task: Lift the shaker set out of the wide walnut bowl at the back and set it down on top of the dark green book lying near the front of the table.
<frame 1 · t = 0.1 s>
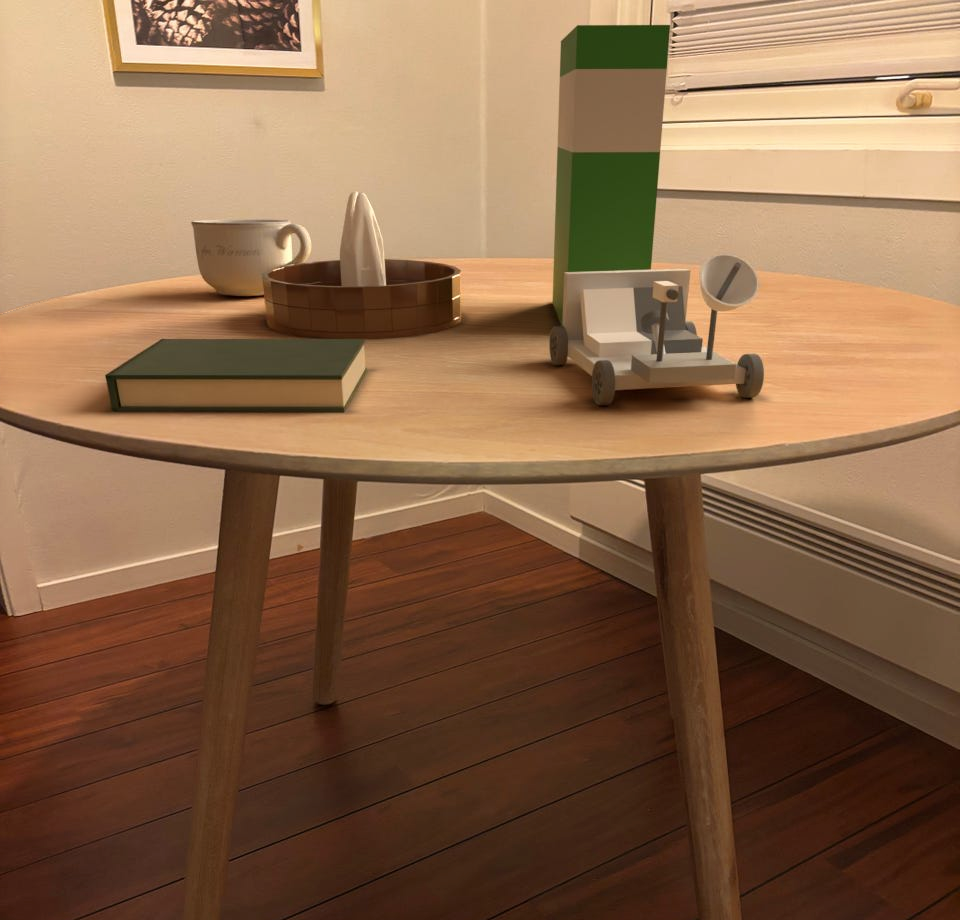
bowl: (365, 319, 94), on the table
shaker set: (364, 315, 94), resting on bowl
green book: (248, 390, 70), on the table
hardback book: (595, 319, 95), on the table
toy car: (651, 386, 71), on the table
teacup: (260, 297, 108), on the table
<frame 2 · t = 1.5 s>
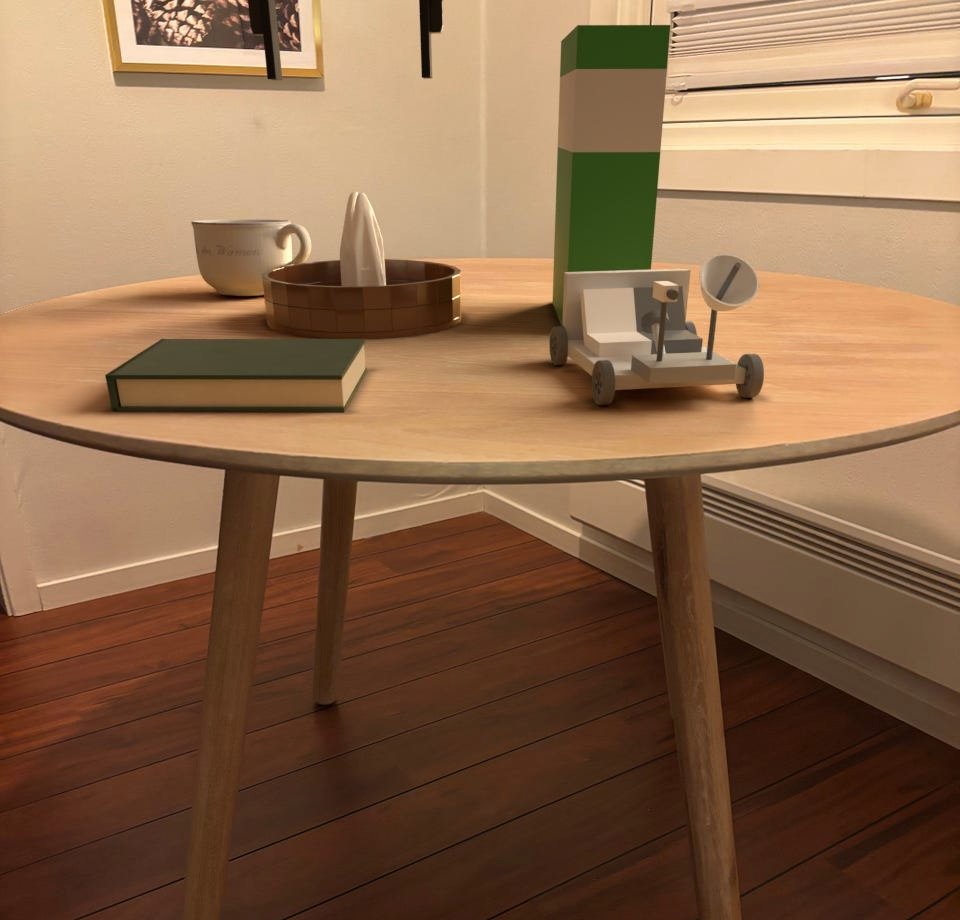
hand: (350, 79, 84), 21 cm above the table, tool pointing down, fingers open, 13 cm apart
nothing on the table moved.
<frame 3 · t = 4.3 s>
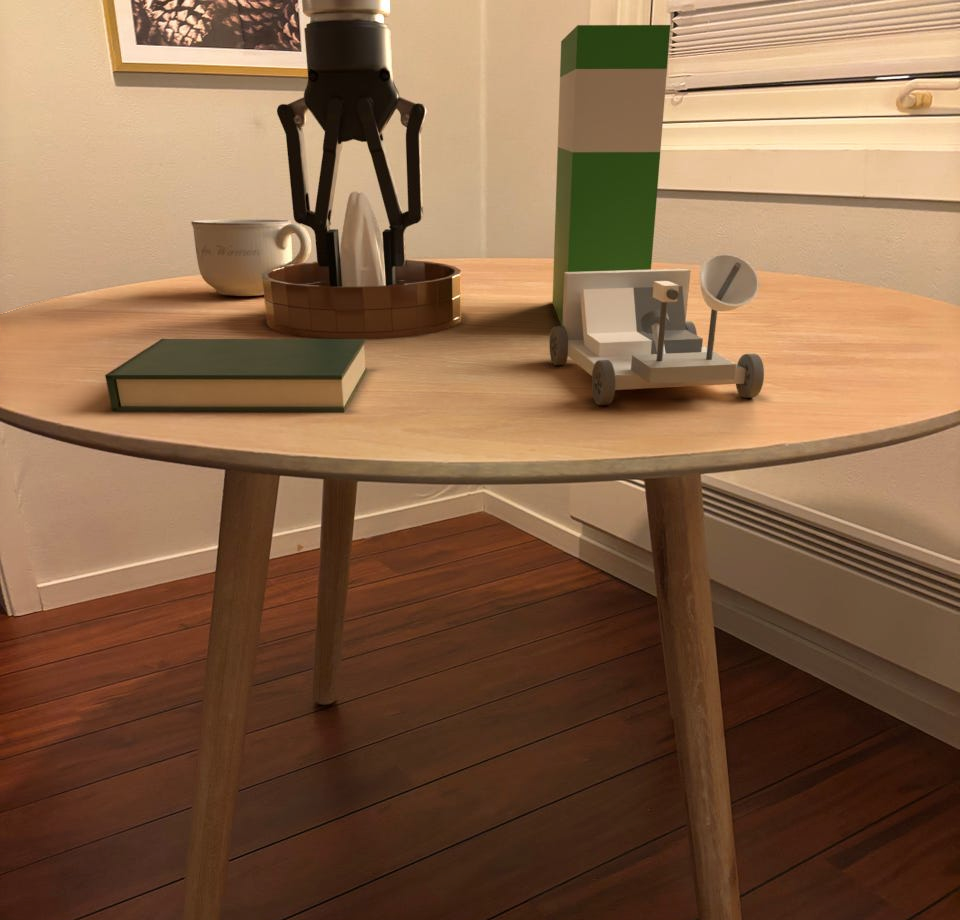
hand: (364, 301, 93), 2 cm above the table, tool pointing down, fingers closed on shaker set, 5 cm apart
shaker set: (364, 315, 94), resting on bowl, touching gripper
everything else where it was.
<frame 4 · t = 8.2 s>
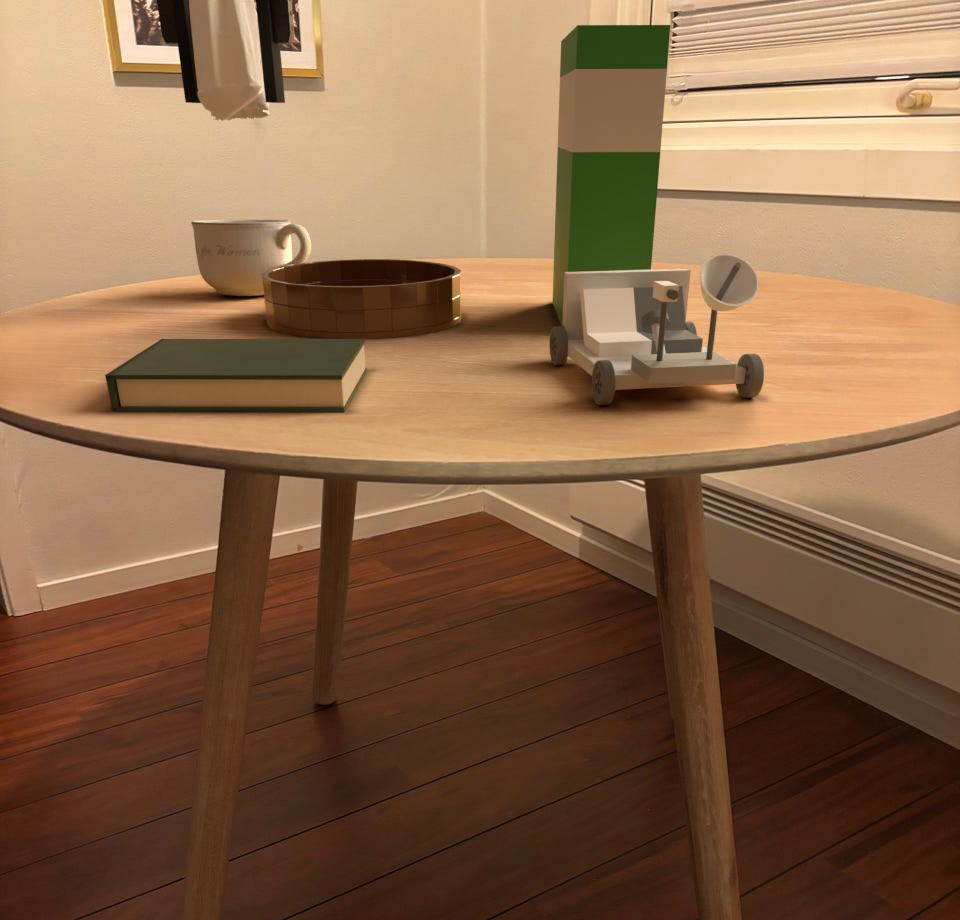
hand: (236, 101, 64), 19 cm above the table, tool pointing down, fingers closed on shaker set, 5 cm apart
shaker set: (237, 124, 64), point 17 cm above the table, touching gripper
everything else where it was.
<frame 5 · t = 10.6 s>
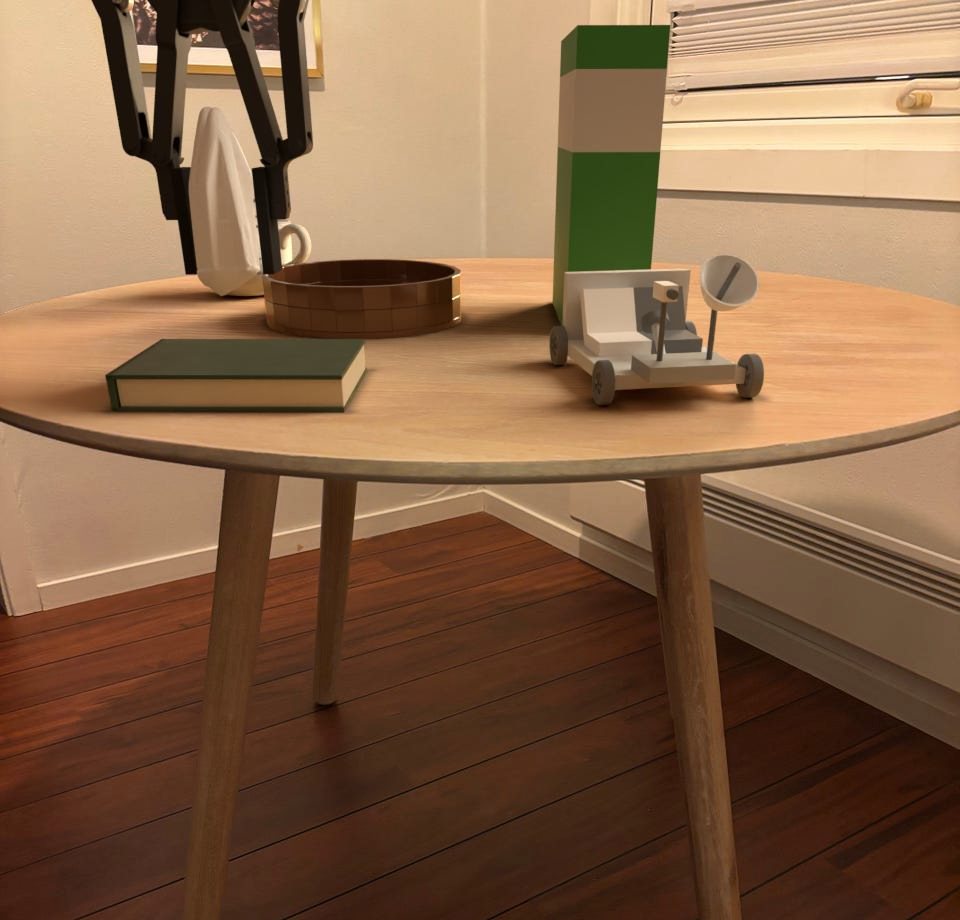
hand: (234, 271, 66), 8 cm above the table, tool pointing down, fingers closed on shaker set, 5 cm apart
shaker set: (236, 291, 66), point 7 cm above the table, touching gripper
everything else where it was.
when the fingers open (4 cm above the table, at t = 12.0 s): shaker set stays where it is, resting on green book.
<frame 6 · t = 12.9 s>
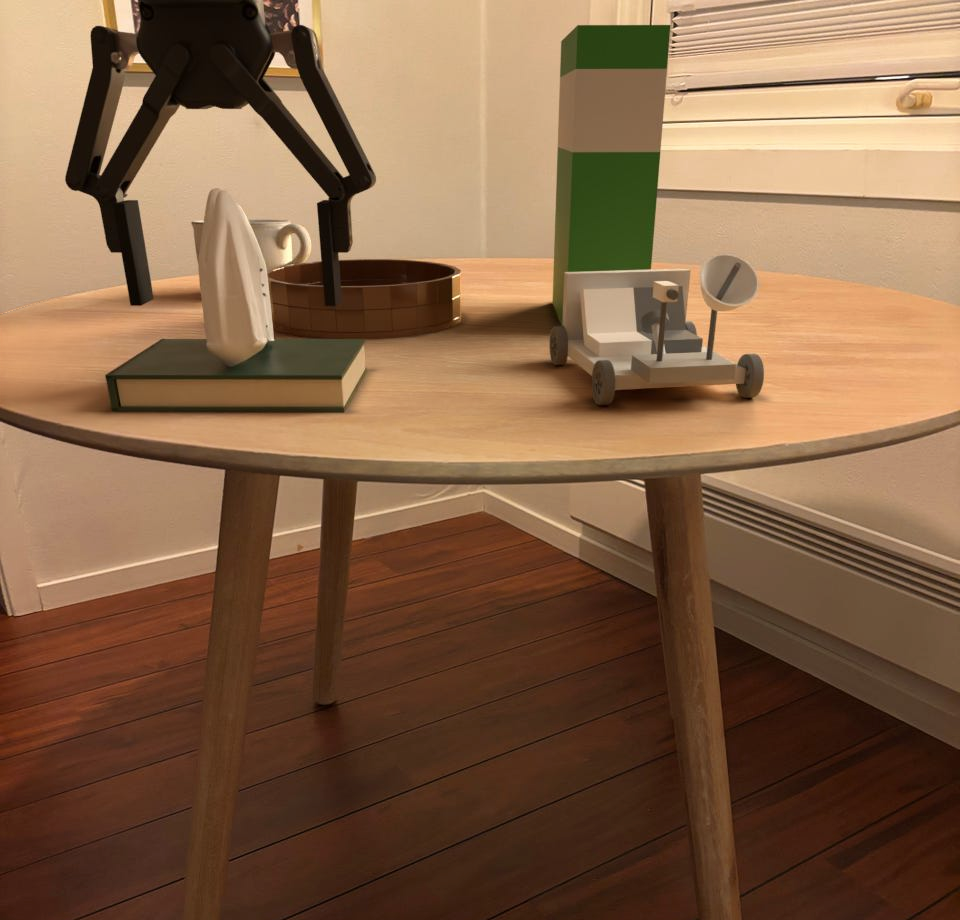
hand: (237, 303, 67), 6 cm above the table, tool pointing down, fingers open, 13 cm apart
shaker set: (244, 358, 69), point 2 cm above the table, touching green book
everything else where it was.
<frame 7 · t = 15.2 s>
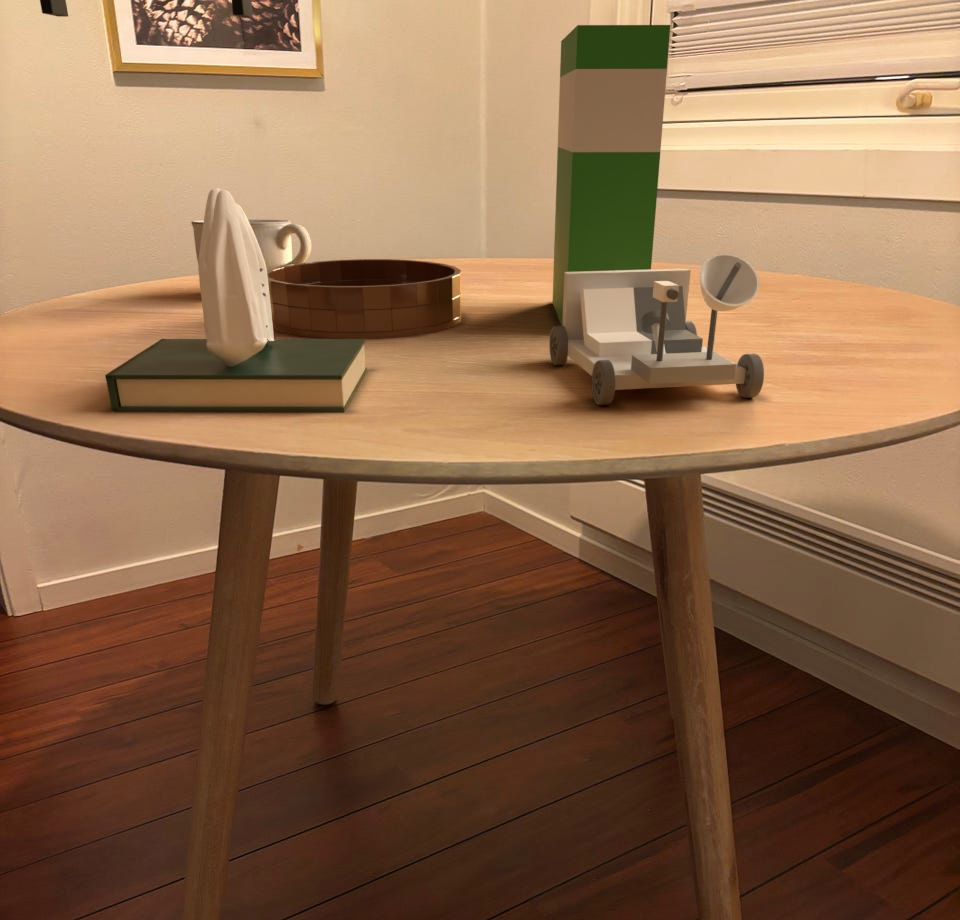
hand: (149, 16, 68), 24 cm above the table, tool pointing down, fingers open, 13 cm apart
nothing on the table moved.
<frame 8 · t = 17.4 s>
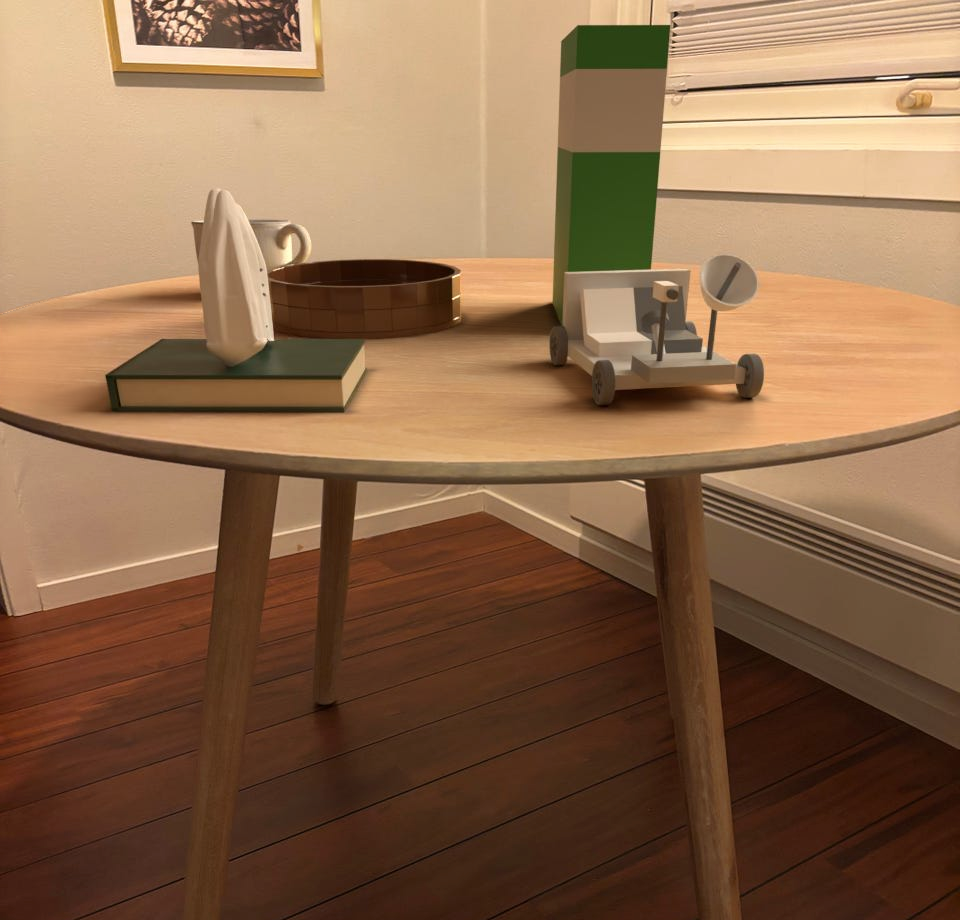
nothing on the table moved.
at the end: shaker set inside the target area on the green book (0.1 cm from its centre), point 2.3 cm above the green book's base; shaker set tilted 0°; the gripper is holding nothing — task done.
